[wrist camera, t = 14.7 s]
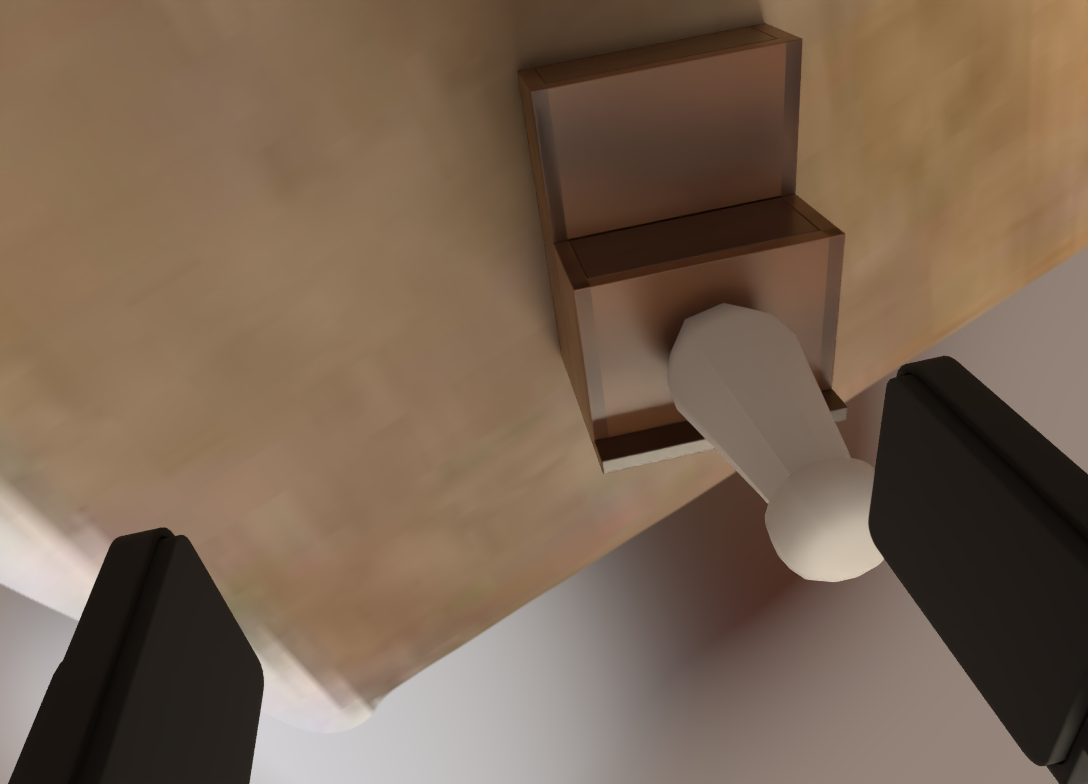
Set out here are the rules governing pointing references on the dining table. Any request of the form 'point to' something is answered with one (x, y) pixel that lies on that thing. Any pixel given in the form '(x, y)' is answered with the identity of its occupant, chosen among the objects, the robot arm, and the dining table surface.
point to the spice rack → (674, 221)
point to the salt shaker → (776, 437)
